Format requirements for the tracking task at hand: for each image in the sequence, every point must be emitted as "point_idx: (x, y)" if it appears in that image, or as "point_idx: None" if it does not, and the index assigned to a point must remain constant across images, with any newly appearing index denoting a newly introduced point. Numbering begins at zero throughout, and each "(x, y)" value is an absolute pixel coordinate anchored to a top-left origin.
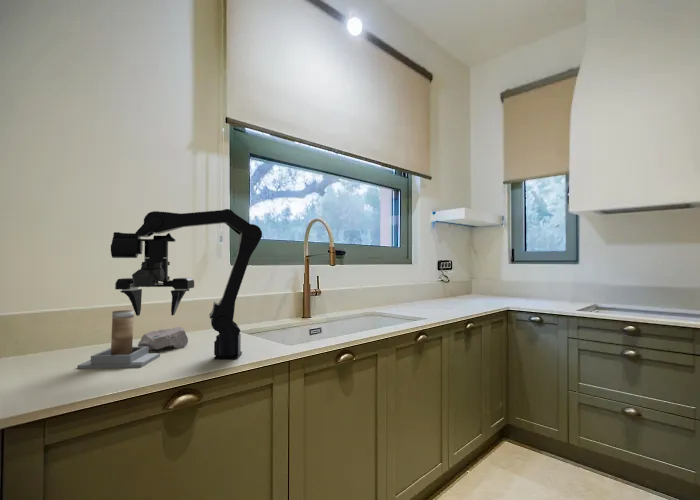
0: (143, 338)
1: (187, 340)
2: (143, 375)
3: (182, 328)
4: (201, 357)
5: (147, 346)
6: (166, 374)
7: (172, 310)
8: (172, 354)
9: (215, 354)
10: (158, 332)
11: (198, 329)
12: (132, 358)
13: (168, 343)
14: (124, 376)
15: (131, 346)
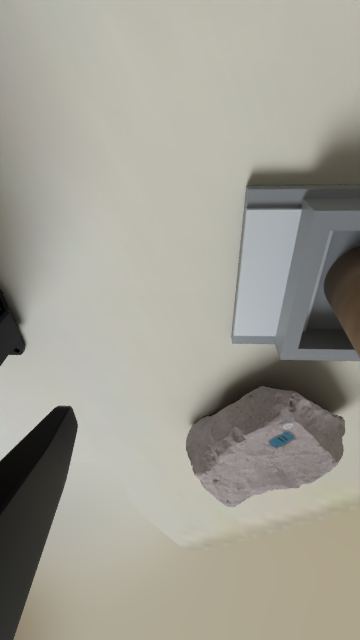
0: (332, 442)
1: (187, 444)
2: (174, 22)
3: (213, 495)
4: (67, 313)
5: (284, 359)
6: (59, 40)
7: (36, 440)
8: (195, 354)
9: (2, 310)
10: (288, 472)
11: (229, 540)
12: (304, 225)
13: (230, 412)
14: (272, 3)
15: (342, 311)
